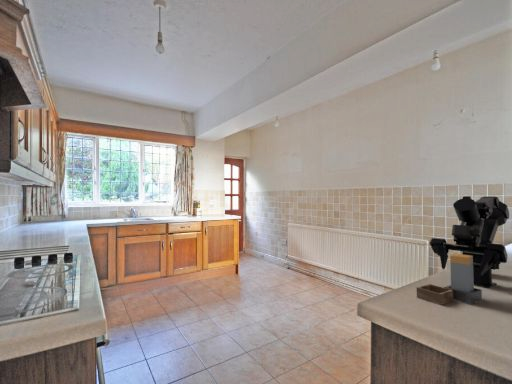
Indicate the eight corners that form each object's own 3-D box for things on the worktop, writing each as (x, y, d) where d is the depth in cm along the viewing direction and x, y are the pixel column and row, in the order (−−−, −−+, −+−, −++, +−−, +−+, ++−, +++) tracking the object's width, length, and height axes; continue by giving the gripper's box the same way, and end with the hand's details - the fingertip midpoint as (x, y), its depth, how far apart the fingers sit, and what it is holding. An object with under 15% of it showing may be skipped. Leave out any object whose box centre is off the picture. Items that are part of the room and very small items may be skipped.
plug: (456, 294, 85) (455, 253, 85) (474, 298, 81) (472, 255, 82) (451, 298, 82) (450, 255, 82) (469, 302, 79) (468, 257, 79)
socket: (456, 292, 86) (455, 283, 86) (482, 299, 80) (481, 289, 80) (444, 296, 83) (443, 287, 83) (470, 304, 77) (470, 294, 77)
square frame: (429, 293, 86) (429, 283, 86) (453, 300, 80) (453, 290, 80) (416, 297, 83) (416, 287, 83) (440, 304, 77) (440, 294, 77)
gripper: (430, 214, 92) (418, 250, 85) (503, 216, 77) (496, 261, 70) (439, 235, 97) (428, 271, 90) (510, 241, 82) (503, 285, 75)
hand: (460, 271), depth 81 cm, fingers open, 9 cm apart
